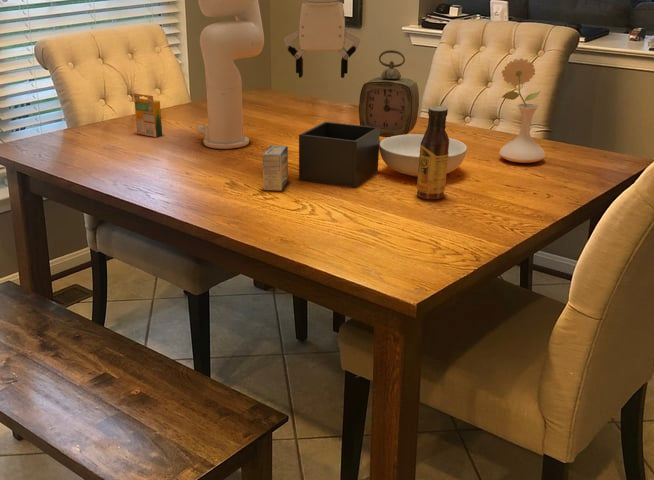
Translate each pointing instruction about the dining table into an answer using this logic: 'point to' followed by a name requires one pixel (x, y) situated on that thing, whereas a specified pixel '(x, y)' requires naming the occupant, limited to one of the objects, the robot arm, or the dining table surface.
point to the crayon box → (148, 116)
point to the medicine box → (275, 168)
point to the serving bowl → (415, 153)
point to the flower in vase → (523, 144)
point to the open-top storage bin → (339, 154)
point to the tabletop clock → (389, 101)
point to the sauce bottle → (433, 156)
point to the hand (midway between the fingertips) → (321, 76)
